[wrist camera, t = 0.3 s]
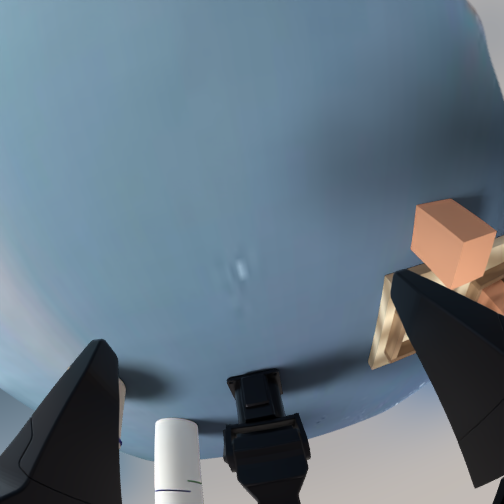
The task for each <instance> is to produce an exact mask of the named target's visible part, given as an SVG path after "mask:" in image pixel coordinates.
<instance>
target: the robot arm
mask: <svg viewBox="0 0 504 504" xmlns="http://www.w3.org/2000/svg"><path fill="white" fill-rule="evenodd" d="M390 295H391V299H392V302H393V304H394V306H395V308H396V311H397V313H398V315H399V317H400V320H401V322H402V324H403V327H404V329H405V332H406V334H407V336H408V338H409V340H410V342H411V344H412V346H413V348H414V350H415V352H416V354H417V355H418V357H419V359H420V361H421V363H422V365H423V367H424V369H425V371H426V373H427V375H428V377H429V379H430V381H431V383H432V385H433V387H434V389H435V391H436V393H437V395H438V397H439V400H440V402H441V404H442V406H443V408H444V410H445V413H446V414H447V417H448V419H449V422H450V424H451V426H452V429H453V431H454V434H455V436H456V438H457V441H458V444H459V446H460V449H461V451H462V454H463V457H464V459H465V462H466V465H467V468H468V470H469V473H470V476H471V479H472V482H473V485H474V487H475V488H478V487H480V486H482V485H485V484H487V483H489V482H491V481H493V480H495V479H497V478H499V477H501V476H503V475H504V316H503V315H501V314H498V313H497V312H495V311H493V310H491V309H489V308H488V307H486V306H484V305H482V304H480V303H478V302H476V301H474V300H472V299H470V298H467V297H465V296H463V295H461V294H459V293H457V292H455V291H453V290H451V289H449V288H447V287H445V286H443V285H440V284H438V283H436V282H434V281H432V280H430V279H428V278H425V277H423V276H421V275H419V274H417V273H415V272H412V271H410V270H408V269H402V270H399V271H396V272H394V274H393V278H392V285H391V291H390ZM227 384H228V386H229V388H230V390H231V392H232V394H233V396H234V398H235V400H236V406H237V414H238V421H239V424H235V425H231V424H229V425H226V430H224V431H223V436H224V454H223V458H224V461H225V462H226V463H228V464H229V467H230V468H231V471H232V472H236V473H237V479H238V481H239V482H240V483H241V485H242V486H243V487H244V488H245V489H246V490H247V492H248V493H249V494H250V495H251V496H252V497H253V498H254V499H255V500H256V501H257V502H258V504H301V503H300V500H299V492H300V490H301V487H302V485H303V482H304V479H305V477H306V474H307V471H308V464H307V460H309V459H310V458H311V456H310V455H311V454H310V448H309V443H308V439H307V436H306V433H305V430H304V428H303V425H302V422H301V419H300V416H299V413H295V414H294V415H289V416H286V415H285V411H284V407H283V403H282V399H281V395H282V394H283V391H282V386H281V381H280V375H279V371H278V370H277V369H274V370H269V371H264V372H260V373H255V374H250V375H245V376H240V377H234V378H229V379H227ZM119 413H120V396H119V373H118V358H117V356H116V354H115V353H114V351H113V350H112V349H111V347H110V346H109V345H108V343H107V342H106V341H105V340H104V339H97V340H92V341H91V342H90V343H89V344H88V346H87V347H86V348H85V349H84V350H83V352H82V353H81V354H80V355H79V356H78V357H77V359H76V360H75V361H74V362H73V364H72V365H71V366H70V367H69V368H68V370H67V371H66V372H65V373H64V375H63V376H62V377H61V378H60V380H59V381H58V382H57V383H56V385H55V386H54V387H53V388H52V390H51V391H50V392H49V393H48V395H47V396H46V397H45V399H44V400H43V401H42V403H41V404H40V405H39V407H38V408H37V409H36V411H35V412H34V413H33V415H32V417H31V418H30V419H29V420H28V421H27V423H26V424H25V425H24V427H23V428H22V430H21V431H20V432H19V434H18V435H17V436H16V437H15V439H14V440H13V441H12V442H11V444H10V445H9V446H8V447H7V448H6V450H5V451H4V452H3V453H2V454H1V456H0V504H122V498H121V485H120V464H119ZM493 504H504V477H503V478H502V479H501V481H500V484H499V487H498V490H497V494H496V496H495V499H494V501H493Z"/></svg>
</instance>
